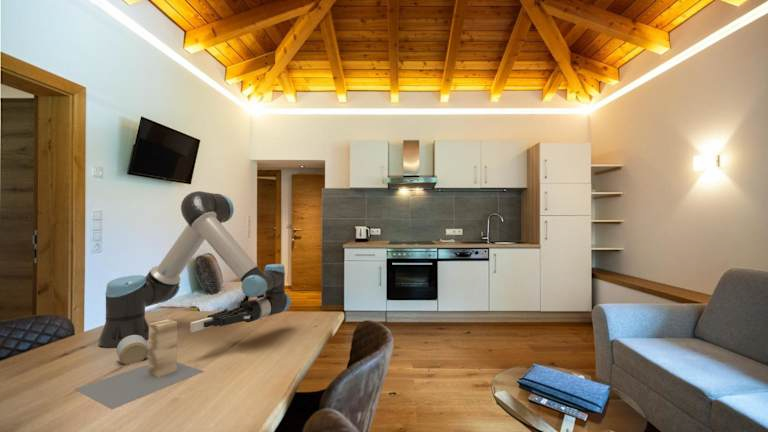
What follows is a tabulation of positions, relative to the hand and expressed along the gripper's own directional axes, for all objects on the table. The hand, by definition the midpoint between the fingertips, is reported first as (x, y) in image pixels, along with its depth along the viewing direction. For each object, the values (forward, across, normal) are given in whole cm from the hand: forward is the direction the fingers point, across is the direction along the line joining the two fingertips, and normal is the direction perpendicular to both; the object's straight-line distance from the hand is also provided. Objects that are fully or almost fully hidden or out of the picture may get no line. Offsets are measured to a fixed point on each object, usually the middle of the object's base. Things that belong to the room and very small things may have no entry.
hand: (191, 327), depth 101 cm
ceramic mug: (+6, +19, -12) cm, 23 cm away
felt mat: (+13, 0, -12) cm, 18 cm away
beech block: (+8, 0, -10) cm, 13 cm away
